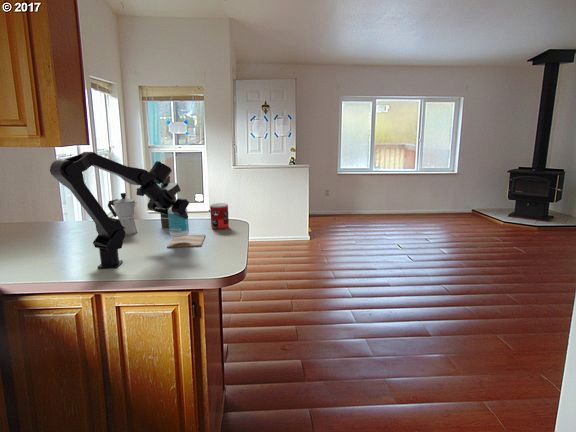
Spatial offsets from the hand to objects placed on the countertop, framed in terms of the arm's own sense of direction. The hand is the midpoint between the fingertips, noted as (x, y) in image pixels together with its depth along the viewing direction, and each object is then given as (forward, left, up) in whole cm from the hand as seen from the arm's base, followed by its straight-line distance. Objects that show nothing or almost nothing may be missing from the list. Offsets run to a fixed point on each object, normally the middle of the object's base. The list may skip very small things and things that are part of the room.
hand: (180, 216), depth 160 cm
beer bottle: (+30, +11, -11) cm, 33 cm away
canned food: (+23, -13, -11) cm, 29 cm away
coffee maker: (+21, +29, -11) cm, 37 cm away
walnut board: (+2, -1, -11) cm, 11 cm away
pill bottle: (-1, +1, -7) cm, 7 cm away
